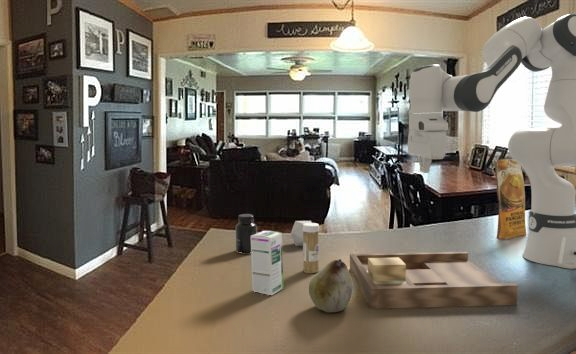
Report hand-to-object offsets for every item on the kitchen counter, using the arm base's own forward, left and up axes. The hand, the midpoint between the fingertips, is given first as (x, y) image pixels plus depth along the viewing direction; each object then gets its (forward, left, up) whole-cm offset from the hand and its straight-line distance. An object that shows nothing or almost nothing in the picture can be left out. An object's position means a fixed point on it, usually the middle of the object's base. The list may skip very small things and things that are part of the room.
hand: (424, 172), depth 129 cm
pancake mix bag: (-42, -30, -27) cm, 59 cm away
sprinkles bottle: (+33, +5, -27) cm, 43 cm away
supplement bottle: (+52, -16, -27) cm, 61 cm away
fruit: (+31, +31, -27) cm, 51 cm away
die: (+33, -23, -27) cm, 49 cm away
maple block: (+15, +18, -24) cm, 34 cm away
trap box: (+6, +18, -27) cm, 33 cm away
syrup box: (+45, +19, -27) cm, 56 cm away
